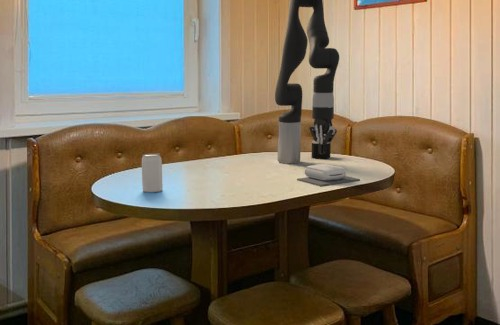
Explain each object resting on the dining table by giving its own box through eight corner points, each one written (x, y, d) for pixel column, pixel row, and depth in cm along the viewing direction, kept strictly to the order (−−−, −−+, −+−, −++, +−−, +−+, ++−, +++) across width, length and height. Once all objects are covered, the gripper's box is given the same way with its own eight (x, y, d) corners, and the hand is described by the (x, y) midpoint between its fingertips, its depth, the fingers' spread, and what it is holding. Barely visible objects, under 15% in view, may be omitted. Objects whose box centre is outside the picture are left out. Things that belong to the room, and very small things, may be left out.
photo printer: (325, 162, 204) (348, 167, 194) (325, 174, 205) (348, 179, 195) (304, 165, 199) (326, 170, 188) (303, 177, 199) (326, 182, 189)
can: (143, 189, 183) (142, 153, 181) (163, 188, 184) (162, 152, 182) (141, 193, 177) (140, 156, 175) (161, 192, 177) (160, 155, 175)
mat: (297, 180, 197) (297, 178, 197) (335, 174, 206) (335, 173, 206) (320, 186, 186) (320, 184, 186) (359, 180, 195) (359, 179, 195)
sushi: (326, 159, 241) (326, 141, 240) (308, 158, 246) (308, 140, 244) (333, 157, 248) (333, 139, 247) (316, 155, 252) (316, 138, 251)
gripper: (303, 105, 198) (302, 152, 201) (327, 107, 187) (326, 157, 190) (319, 104, 202) (318, 151, 205) (343, 106, 191) (342, 155, 194)
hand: (322, 154), depth 197 cm, fingers closed
